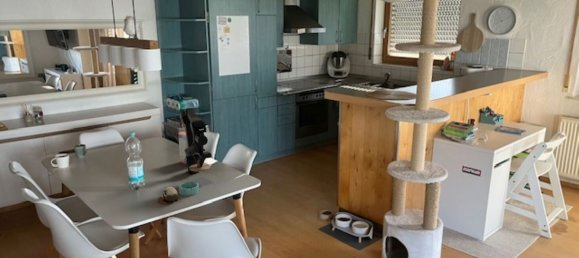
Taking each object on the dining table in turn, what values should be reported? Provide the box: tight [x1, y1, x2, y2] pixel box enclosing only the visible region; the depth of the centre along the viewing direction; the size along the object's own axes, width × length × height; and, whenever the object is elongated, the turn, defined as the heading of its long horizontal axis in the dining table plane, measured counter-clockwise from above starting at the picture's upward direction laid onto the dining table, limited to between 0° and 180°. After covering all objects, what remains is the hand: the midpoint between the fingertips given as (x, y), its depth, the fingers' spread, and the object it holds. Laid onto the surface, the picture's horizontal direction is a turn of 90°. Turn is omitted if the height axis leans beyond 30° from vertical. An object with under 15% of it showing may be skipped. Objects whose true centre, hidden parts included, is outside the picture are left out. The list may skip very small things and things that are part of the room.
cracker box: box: [178, 131, 187, 165], centre depth 290 cm, size 14×6×21 cm, turn 41°
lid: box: [189, 160, 211, 173], centre depth 257 cm, size 12×12×5 cm
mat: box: [186, 176, 215, 188], centre depth 260 cm, size 12×12×1 cm
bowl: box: [178, 181, 200, 196], centre depth 246 cm, size 11×11×4 cm
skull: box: [157, 186, 181, 205], centre depth 236 cm, size 12×10×10 cm
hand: (199, 166), depth 257 cm, fingers closed on lid, 3 cm apart
